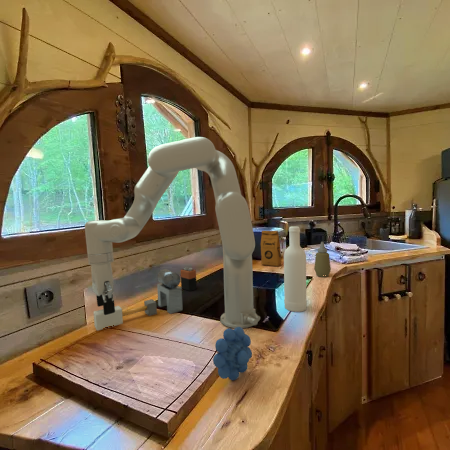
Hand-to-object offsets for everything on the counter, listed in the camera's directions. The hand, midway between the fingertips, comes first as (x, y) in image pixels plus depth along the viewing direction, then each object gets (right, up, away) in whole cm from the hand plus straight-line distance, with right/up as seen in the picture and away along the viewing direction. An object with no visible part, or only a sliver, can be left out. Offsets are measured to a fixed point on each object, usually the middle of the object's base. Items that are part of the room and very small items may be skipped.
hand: (106, 309), depth 87 cm
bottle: (+65, -3, +10) cm, 66 cm away
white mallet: (+5, -5, +5) cm, 9 cm away
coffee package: (+69, +2, +80) cm, 106 cm away
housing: (+18, -4, +14) cm, 23 cm away
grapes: (+42, -7, -29) cm, 52 cm away
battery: (+22, -2, +37) cm, 43 cm away
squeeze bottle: (+90, +1, +51) cm, 104 cm away
